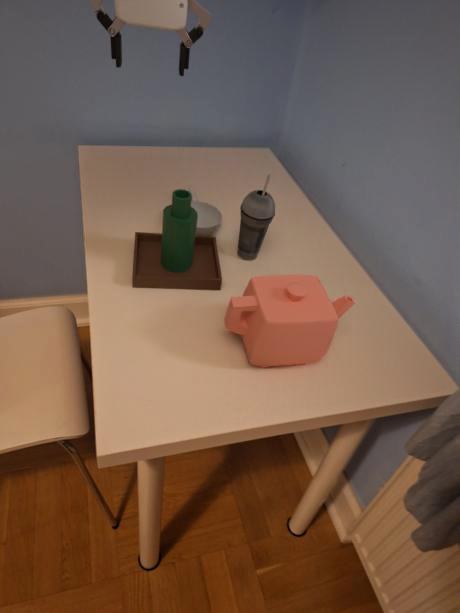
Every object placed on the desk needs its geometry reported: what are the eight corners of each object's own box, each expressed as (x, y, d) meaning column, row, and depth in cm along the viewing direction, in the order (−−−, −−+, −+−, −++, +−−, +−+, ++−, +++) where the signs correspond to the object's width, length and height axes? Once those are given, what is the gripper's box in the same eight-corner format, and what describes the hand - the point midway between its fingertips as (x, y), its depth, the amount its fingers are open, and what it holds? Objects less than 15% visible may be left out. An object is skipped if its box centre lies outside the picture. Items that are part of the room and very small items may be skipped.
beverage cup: (256, 243, 94) (276, 162, 80) (267, 263, 90) (291, 181, 76) (227, 245, 92) (242, 162, 78) (237, 266, 87) (256, 182, 73)
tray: (132, 287, 78) (132, 276, 76) (135, 242, 88) (135, 231, 86) (220, 290, 81) (222, 280, 79) (213, 246, 91) (215, 236, 89)
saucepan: (177, 240, 90) (178, 226, 88) (168, 197, 102) (169, 183, 100) (224, 240, 93) (226, 226, 90) (209, 198, 105) (211, 184, 102)
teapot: (321, 316, 81) (347, 261, 71) (346, 368, 72) (379, 314, 62) (213, 320, 75) (225, 262, 65) (226, 377, 67) (242, 320, 57)
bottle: (160, 272, 81) (164, 202, 70) (160, 252, 85) (164, 183, 74) (192, 273, 82) (201, 205, 71) (191, 253, 87) (198, 186, 75)
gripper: (216, -68, 56) (203, 69, 68) (85, -95, 53) (95, 54, 65) (222, -62, 51) (206, 84, 63) (77, -92, 48) (90, 69, 60)
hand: (150, 69), depth 64 cm, fingers open, 9 cm apart
